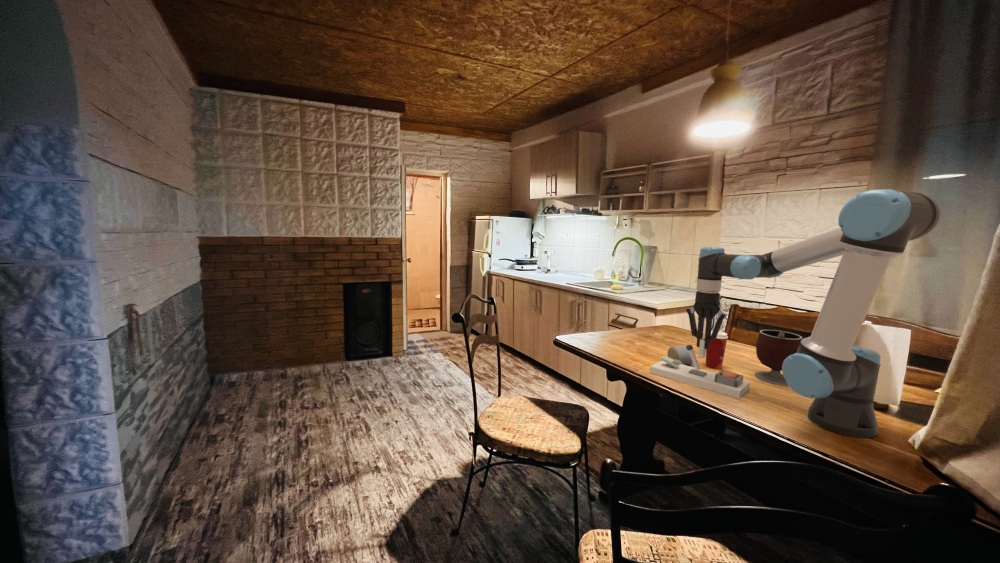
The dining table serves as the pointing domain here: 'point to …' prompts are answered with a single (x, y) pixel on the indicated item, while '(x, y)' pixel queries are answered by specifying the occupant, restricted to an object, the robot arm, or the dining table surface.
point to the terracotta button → (729, 374)
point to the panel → (702, 379)
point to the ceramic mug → (680, 354)
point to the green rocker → (671, 361)
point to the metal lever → (693, 356)
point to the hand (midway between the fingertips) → (701, 357)
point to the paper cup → (716, 351)
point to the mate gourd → (775, 353)
